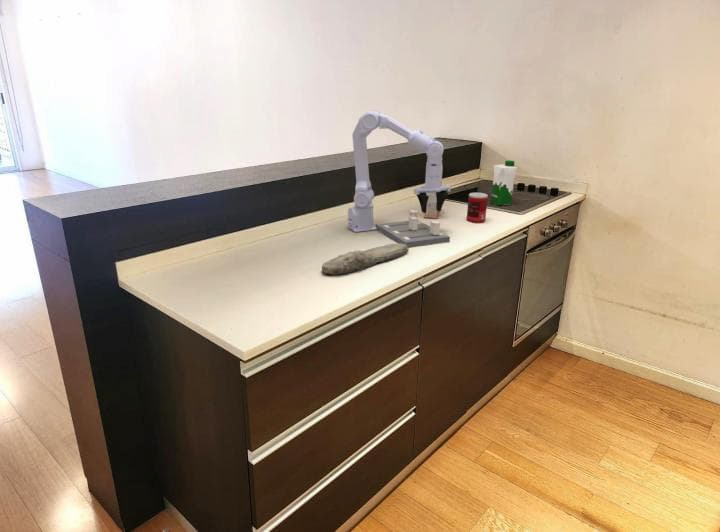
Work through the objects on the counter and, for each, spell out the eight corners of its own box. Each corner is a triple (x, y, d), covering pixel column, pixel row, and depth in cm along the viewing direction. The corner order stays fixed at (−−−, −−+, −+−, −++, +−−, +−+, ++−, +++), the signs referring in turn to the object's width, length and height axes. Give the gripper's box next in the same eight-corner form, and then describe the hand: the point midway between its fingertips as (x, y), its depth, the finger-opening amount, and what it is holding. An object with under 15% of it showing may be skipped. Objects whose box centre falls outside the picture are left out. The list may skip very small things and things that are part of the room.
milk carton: (514, 205, 230) (520, 162, 223) (497, 207, 227) (502, 163, 220) (504, 201, 238) (509, 159, 230) (487, 202, 235) (491, 160, 228)
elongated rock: (415, 258, 166) (394, 252, 174) (416, 243, 165) (395, 238, 172) (335, 279, 144) (314, 271, 151) (335, 261, 142) (314, 254, 150)
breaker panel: (405, 247, 172) (405, 242, 171) (376, 229, 192) (376, 224, 192) (449, 241, 179) (449, 236, 178) (416, 224, 199) (416, 219, 198)
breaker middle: (412, 230, 183) (413, 219, 182) (408, 228, 186) (408, 216, 184) (417, 229, 184) (418, 218, 182) (413, 227, 187) (414, 216, 185)
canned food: (483, 218, 209) (486, 192, 205) (486, 223, 202) (489, 197, 198) (465, 217, 210) (467, 192, 206) (467, 222, 202) (469, 196, 198)
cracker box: (438, 219, 207) (441, 169, 199) (423, 218, 208) (426, 168, 201) (440, 211, 220) (443, 163, 212) (426, 210, 221) (429, 163, 213)
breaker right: (434, 235, 178) (435, 223, 176) (429, 232, 181) (430, 221, 179) (439, 234, 179) (440, 222, 177) (434, 232, 182) (435, 220, 180)
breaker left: (412, 223, 192) (413, 212, 190) (408, 221, 194) (409, 210, 193) (417, 223, 192) (418, 212, 191) (413, 221, 195) (414, 210, 194)
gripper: (421, 178, 175) (419, 216, 179) (456, 176, 180) (453, 212, 185) (412, 175, 181) (410, 211, 185) (445, 172, 186) (443, 207, 191)
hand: (431, 211), depth 186 cm, fingers open, 6 cm apart
